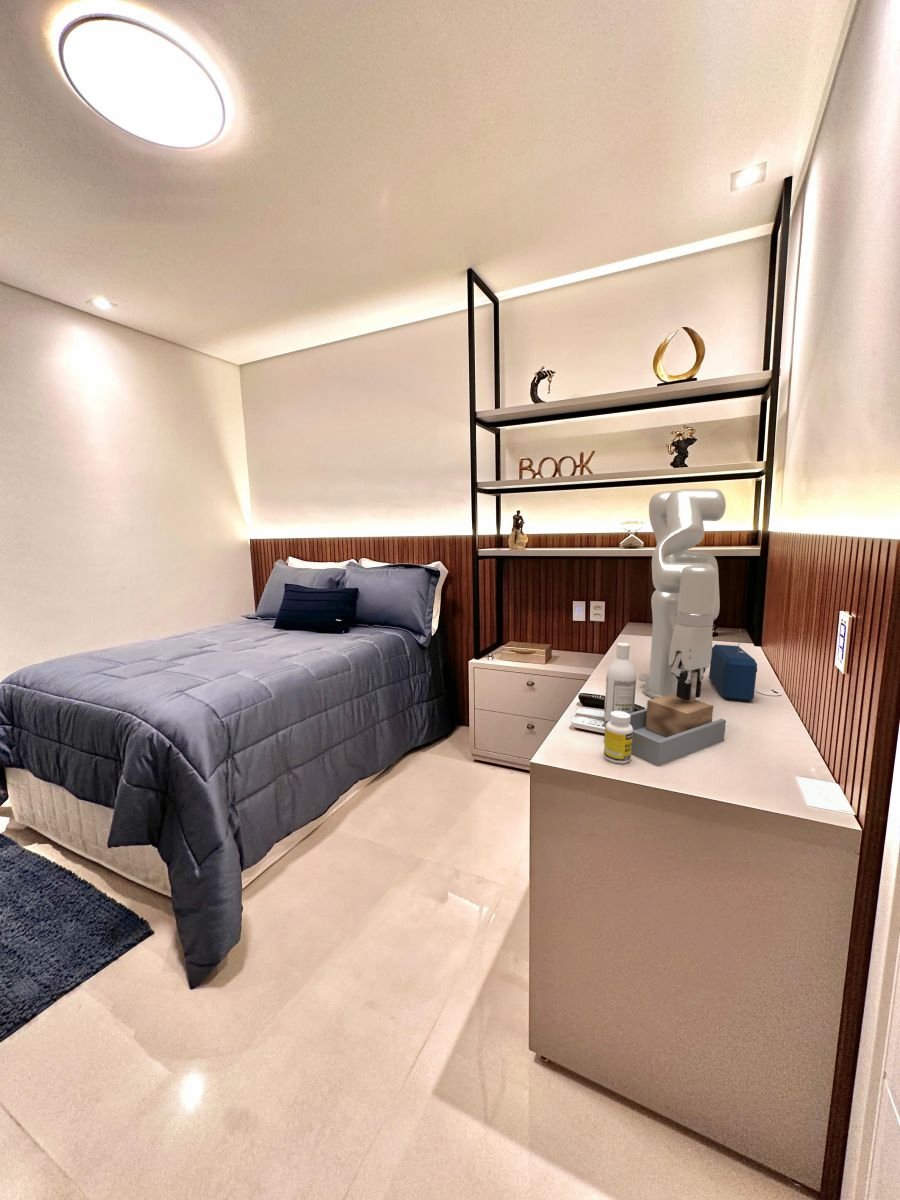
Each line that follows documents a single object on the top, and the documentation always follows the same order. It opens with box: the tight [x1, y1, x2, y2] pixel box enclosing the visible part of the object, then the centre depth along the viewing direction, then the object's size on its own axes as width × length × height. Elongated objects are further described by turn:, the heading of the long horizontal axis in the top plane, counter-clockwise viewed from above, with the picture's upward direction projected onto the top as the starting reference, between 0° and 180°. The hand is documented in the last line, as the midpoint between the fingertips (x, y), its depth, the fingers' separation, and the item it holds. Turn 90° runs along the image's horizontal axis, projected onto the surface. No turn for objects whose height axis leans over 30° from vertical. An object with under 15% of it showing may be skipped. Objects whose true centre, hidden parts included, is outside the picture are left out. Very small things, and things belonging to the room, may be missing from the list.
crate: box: [646, 670, 714, 737], centre depth 116 cm, size 10×10×14 cm
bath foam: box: [603, 642, 637, 720], centre depth 124 cm, size 7×7×20 cm
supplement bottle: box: [603, 711, 633, 764], centre depth 105 cm, size 5×5×10 cm
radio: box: [708, 628, 758, 702], centre depth 149 cm, size 21×9×20 cm, turn 164°
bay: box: [603, 707, 727, 767], centre depth 115 cm, size 14×24×5 cm, turn 122°
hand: (688, 696), depth 118 cm, fingers closed on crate, 3 cm apart
